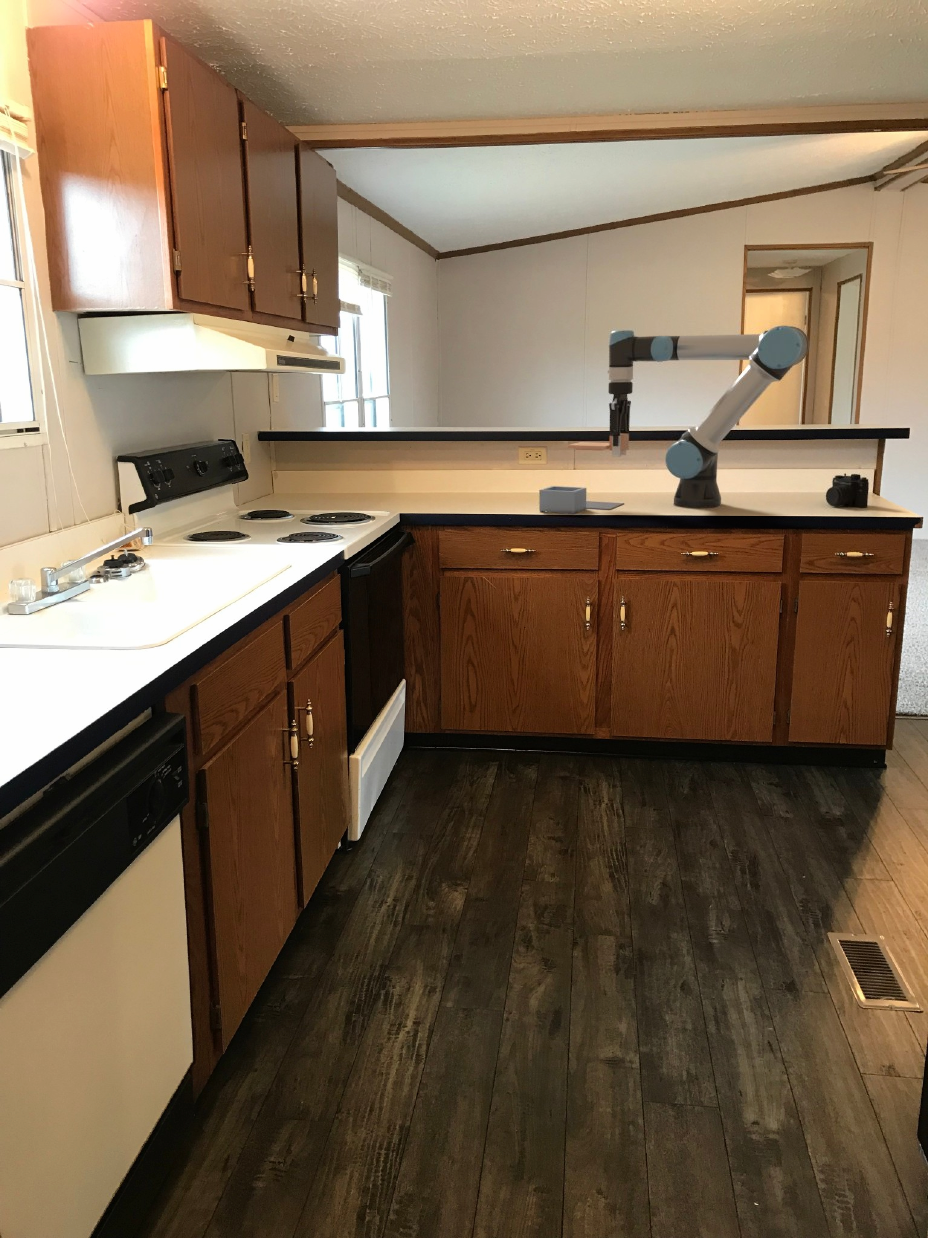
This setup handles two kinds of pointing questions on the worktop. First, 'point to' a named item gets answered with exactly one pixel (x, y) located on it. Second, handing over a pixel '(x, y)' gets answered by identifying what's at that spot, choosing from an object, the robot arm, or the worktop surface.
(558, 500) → the tub
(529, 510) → the worktop surface
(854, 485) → the camera
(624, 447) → the lid
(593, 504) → the mat
